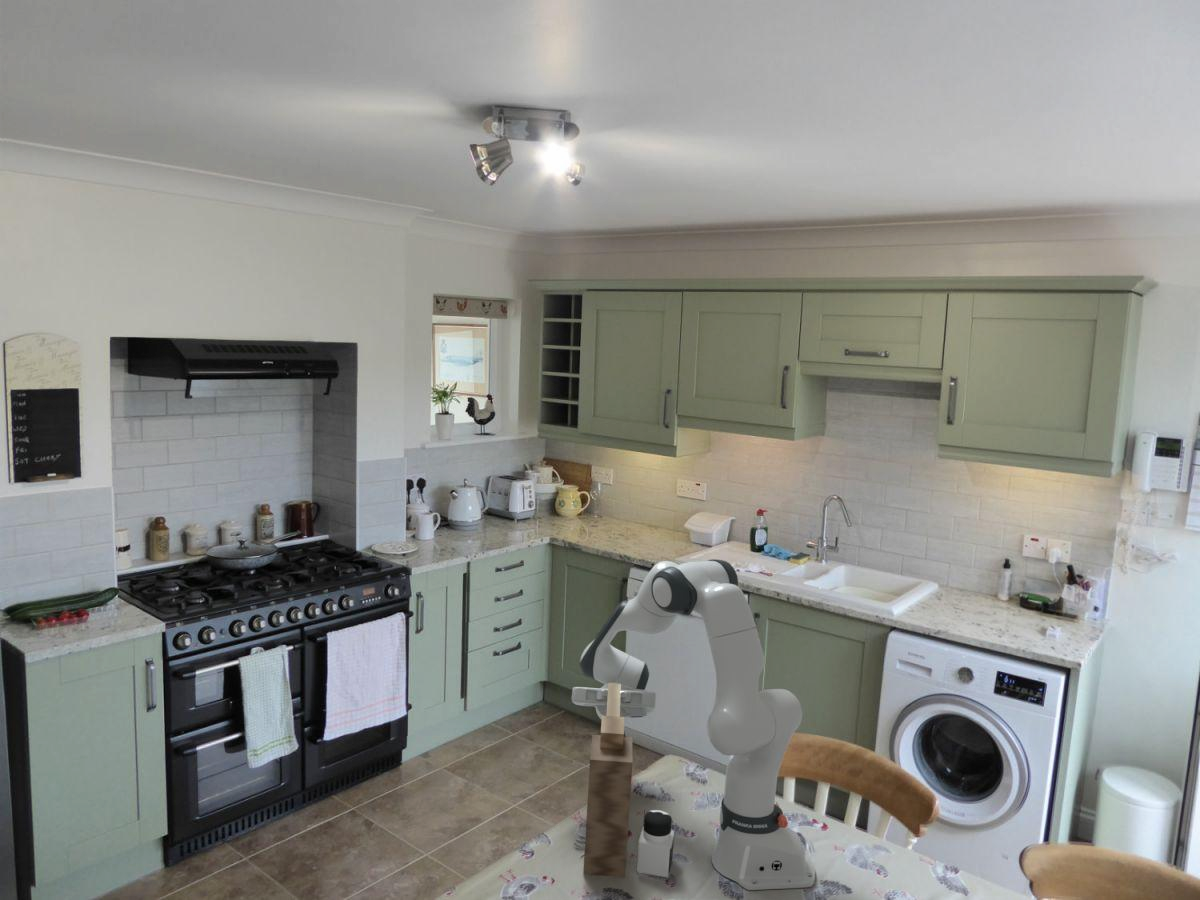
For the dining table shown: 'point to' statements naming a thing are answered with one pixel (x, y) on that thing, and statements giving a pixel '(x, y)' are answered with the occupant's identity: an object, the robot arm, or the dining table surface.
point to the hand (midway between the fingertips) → (614, 694)
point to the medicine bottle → (656, 844)
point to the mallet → (612, 720)
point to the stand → (608, 809)
